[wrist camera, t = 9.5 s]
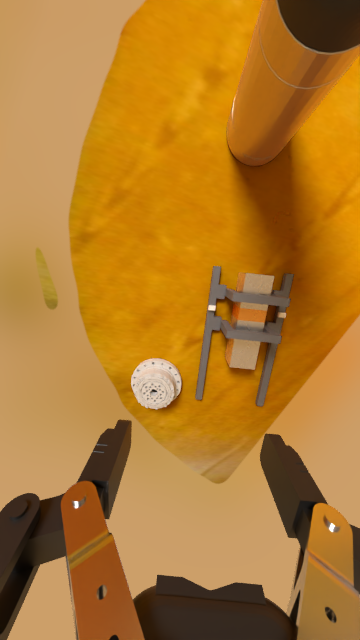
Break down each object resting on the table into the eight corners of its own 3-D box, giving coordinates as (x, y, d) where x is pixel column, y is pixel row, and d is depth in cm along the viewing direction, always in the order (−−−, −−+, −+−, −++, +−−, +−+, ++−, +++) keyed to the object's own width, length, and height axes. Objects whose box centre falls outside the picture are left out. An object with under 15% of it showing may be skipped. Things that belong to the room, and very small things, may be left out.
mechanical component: (161, 409, 43) (191, 377, 41) (158, 425, 39) (192, 390, 37) (123, 382, 42) (152, 347, 40) (116, 395, 38) (148, 357, 36)
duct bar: (238, 272, 36) (246, 273, 32) (263, 275, 36) (274, 276, 32) (224, 356, 40) (229, 367, 36) (247, 358, 40) (254, 369, 36)
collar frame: (213, 266, 36) (219, 265, 29) (291, 274, 36) (314, 275, 29) (195, 396, 42) (197, 420, 35) (261, 403, 42) (275, 428, 35)
